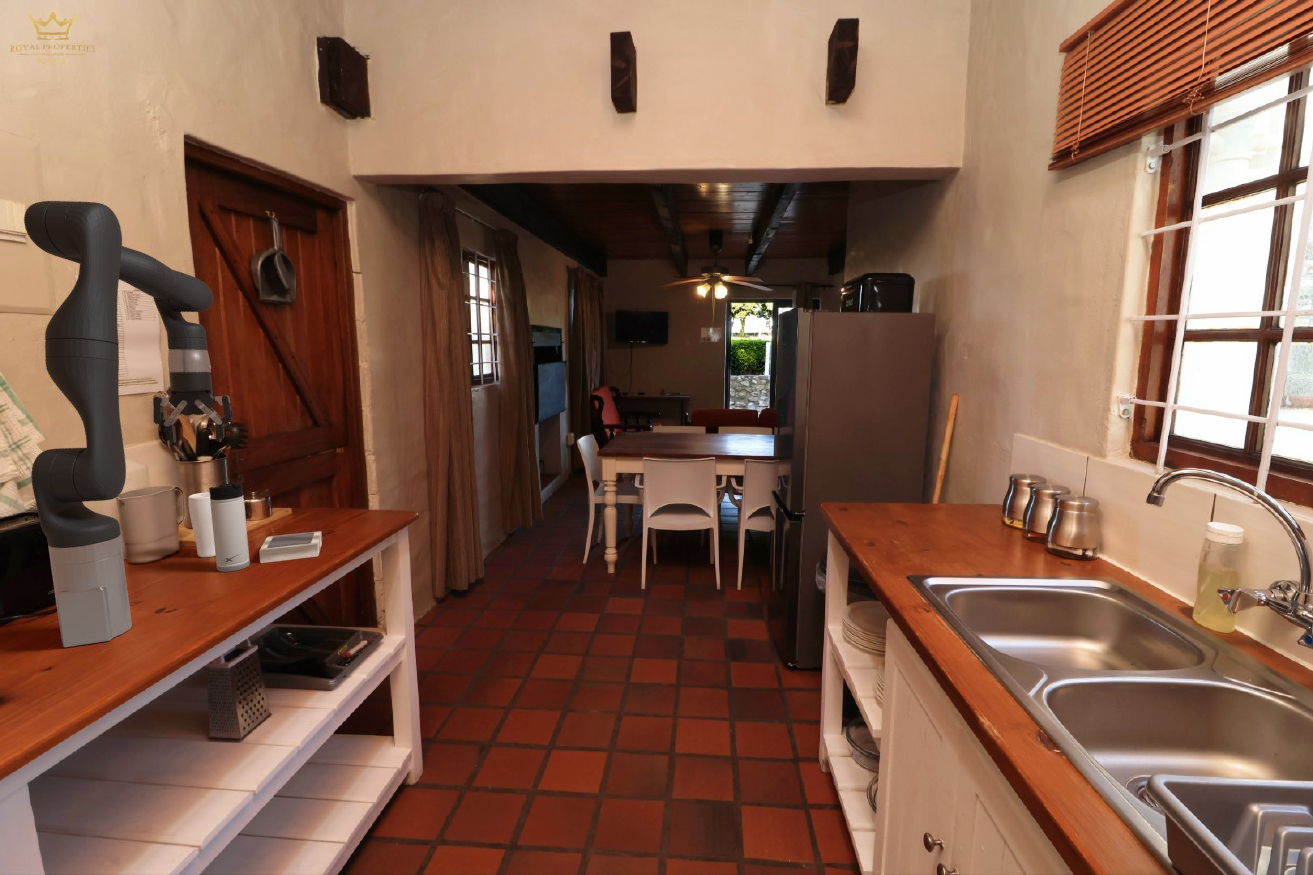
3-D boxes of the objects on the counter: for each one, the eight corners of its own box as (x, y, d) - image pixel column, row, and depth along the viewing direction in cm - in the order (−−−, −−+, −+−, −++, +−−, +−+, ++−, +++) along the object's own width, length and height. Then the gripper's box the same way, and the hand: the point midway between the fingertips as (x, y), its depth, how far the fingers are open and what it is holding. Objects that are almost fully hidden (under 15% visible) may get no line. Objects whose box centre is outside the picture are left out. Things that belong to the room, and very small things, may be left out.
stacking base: (318, 556, 149) (317, 543, 149) (260, 563, 144) (259, 549, 144) (322, 542, 160) (321, 530, 160) (268, 548, 155) (267, 535, 155)
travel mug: (234, 573, 138) (226, 486, 135) (210, 571, 139) (201, 484, 136) (257, 563, 144) (250, 480, 141) (234, 561, 145) (226, 479, 142)
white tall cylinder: (192, 553, 151) (186, 494, 149) (226, 548, 155) (220, 490, 153) (195, 561, 146) (189, 499, 144) (229, 554, 150) (224, 495, 148)
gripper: (145, 370, 131) (152, 445, 133) (225, 370, 138) (231, 441, 139) (155, 370, 138) (162, 441, 140) (231, 370, 144) (236, 438, 146)
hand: (196, 441), depth 140 cm, fingers open, 8 cm apart
